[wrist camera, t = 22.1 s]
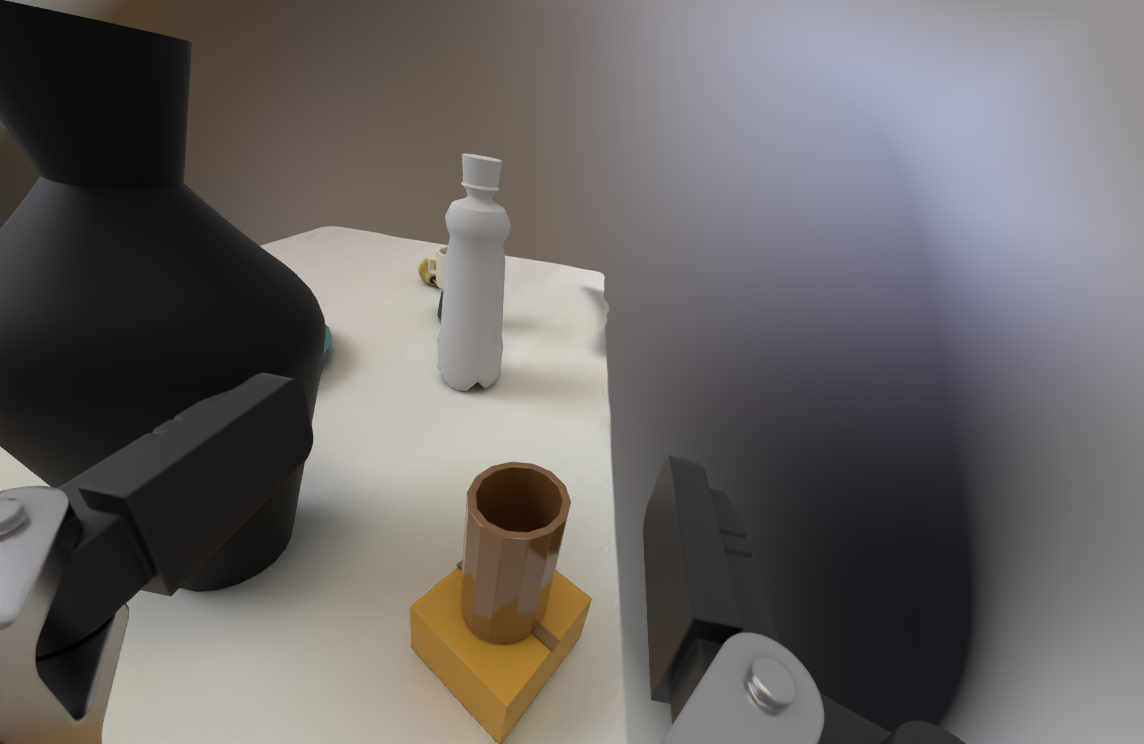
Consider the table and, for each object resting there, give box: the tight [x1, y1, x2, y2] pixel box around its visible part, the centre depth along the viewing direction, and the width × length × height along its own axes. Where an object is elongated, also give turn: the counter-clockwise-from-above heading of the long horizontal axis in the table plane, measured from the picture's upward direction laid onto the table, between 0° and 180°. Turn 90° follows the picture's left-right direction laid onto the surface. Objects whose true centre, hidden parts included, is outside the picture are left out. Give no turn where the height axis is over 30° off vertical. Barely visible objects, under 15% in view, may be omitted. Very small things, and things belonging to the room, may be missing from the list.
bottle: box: [437, 154, 511, 391], centre depth 57 cm, size 9×9×30 cm
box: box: [411, 561, 592, 744], centre depth 32 cm, size 9×9×5 cm
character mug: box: [428, 247, 448, 320], centre depth 78 cm, size 11×7×13 cm, turn 79°
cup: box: [460, 462, 571, 643], centre depth 28 cm, size 6×6×10 cm
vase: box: [0, 0, 326, 591], centre depth 27 cm, size 17×17×35 cm
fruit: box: [418, 258, 441, 289], centre depth 94 cm, size 6×6×10 cm
